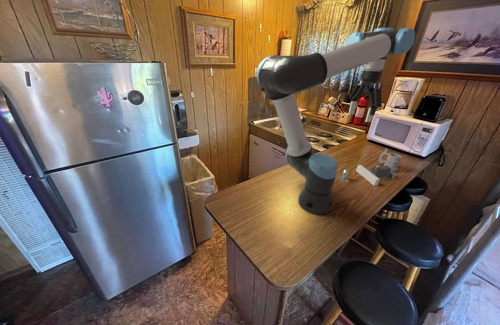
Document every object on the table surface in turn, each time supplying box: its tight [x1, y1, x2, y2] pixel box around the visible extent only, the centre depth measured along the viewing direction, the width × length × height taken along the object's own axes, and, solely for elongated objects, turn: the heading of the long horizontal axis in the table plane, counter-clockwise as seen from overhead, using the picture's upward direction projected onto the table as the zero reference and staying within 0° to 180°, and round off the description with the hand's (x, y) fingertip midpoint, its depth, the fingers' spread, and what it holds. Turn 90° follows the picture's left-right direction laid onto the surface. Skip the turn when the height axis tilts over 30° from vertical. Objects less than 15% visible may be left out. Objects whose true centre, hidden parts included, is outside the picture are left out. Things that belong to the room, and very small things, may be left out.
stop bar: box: [370, 164, 392, 178], centre depth 113 cm, size 9×4×7 cm, turn 98°
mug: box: [378, 148, 403, 173], centre depth 121 cm, size 8×12×12 cm, turn 31°
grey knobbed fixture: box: [337, 168, 350, 183], centre depth 110 cm, size 4×5×6 cm
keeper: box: [367, 169, 397, 181], centre depth 114 cm, size 14×6×3 cm, turn 98°
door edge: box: [355, 164, 381, 187], centre depth 112 cm, size 2×16×4 cm, turn 8°
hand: (359, 117), depth 97 cm, fingers open, 13 cm apart
